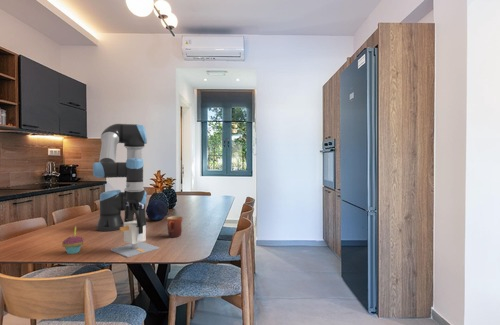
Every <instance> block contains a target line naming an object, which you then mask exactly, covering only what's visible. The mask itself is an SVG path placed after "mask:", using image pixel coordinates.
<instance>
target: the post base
mask: <svg viewBox="0 0 500 325" xmlns="http://www.w3.org/2000/svg"><path fill="white" fill-rule="evenodd" d="M159 249H160V246H157V245H153V244H150V243H147V242H145V241H143V242H139V243H135V244H130V243H128V244H125V245H122V246H117V247H113V248H110V249H109V251H112V252H114V253H116V254H118V255H120V256H123V257H125V258H131V257H134V256H137V255H141V254H145V253H149V252H152V251H155V250H159Z"/></svg>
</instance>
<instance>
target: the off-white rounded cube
mask: <svg viewBox="0 0 500 325" xmlns="http://www.w3.org/2000/svg"><path fill="white" fill-rule="evenodd" d="M123 223H124V227H120V229H119V232H123V242H124V243H127V244H135V243H139V242H146V241H147V238H146V237H147V232H146V231H147V227H146V226H147V224H146V225H144V226H143V240H140V241H137V239H136V226H138V225H137V220H135V219H134V220H133V221H130V222H124V221H123Z"/></svg>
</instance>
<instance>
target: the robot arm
mask: <svg viewBox="0 0 500 325" xmlns="http://www.w3.org/2000/svg"><path fill="white" fill-rule="evenodd" d="M147 141H148V140H147V133H146V128H145V126H144V125H143V124H135V123H133V124H132V123H130V124H129V123H114V124H112V125H109V126H107V127H105V129H104V130H103V131H102V133H101V135H100V142H101V147H100V154H99V160H98V162H96V161H95V162H94V163H93V165H92V176H93V177H94V178H97V179H98V178H99V179H106V178H107V179H110V178H126V180H125V183H126V184H125V186H126V187H125V188H124V191H122V190H121V189H114V190H107V191H104V192H101V193H100V195H99V218H98V221H97V224H96V231H99V232H113V231H120V227H124V222H130V221H134V217H135V219H136V220H137V225H138V226H136V239H137V241H140V240H143V226H144V225H146V226H147V223H146V222H147V220H146V219H147V218H146V204H147V203H146V202H147V191H146V190H145V187H144V160H143V156H142V155H143V153H142V152H143V149H144V148H145V145H146V144H147V143H148V142H147ZM118 144H124V145H123V147H124V148H125V149H126V160H125V162H122V161H121V162H120V161H119V162H118V161H117V150H118V149H117V148H118ZM122 211H124V221H123V218H122ZM134 215H135V216H134Z"/></svg>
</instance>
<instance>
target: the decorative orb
mask: <svg viewBox="0 0 500 325" xmlns="http://www.w3.org/2000/svg"><path fill="white" fill-rule="evenodd" d="M167 214H168V206H167V203H165V202H164V201H163V200H161V199H155V200H151V201H150V202H149V203H148V204H147V206H146V207H145V215H146V216H147V218H149V220H151V221H156V222H157V221H158V222H159V221H162V220H163V219H164V218H166V216H167Z"/></svg>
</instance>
